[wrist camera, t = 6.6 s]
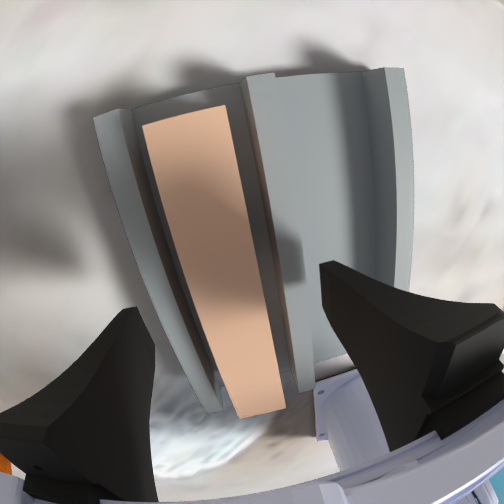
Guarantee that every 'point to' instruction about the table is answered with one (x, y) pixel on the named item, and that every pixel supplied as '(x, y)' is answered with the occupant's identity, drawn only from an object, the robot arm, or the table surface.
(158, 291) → the rack
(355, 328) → the robot arm
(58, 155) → the table surface
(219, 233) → the clay strip
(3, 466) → the carrot
